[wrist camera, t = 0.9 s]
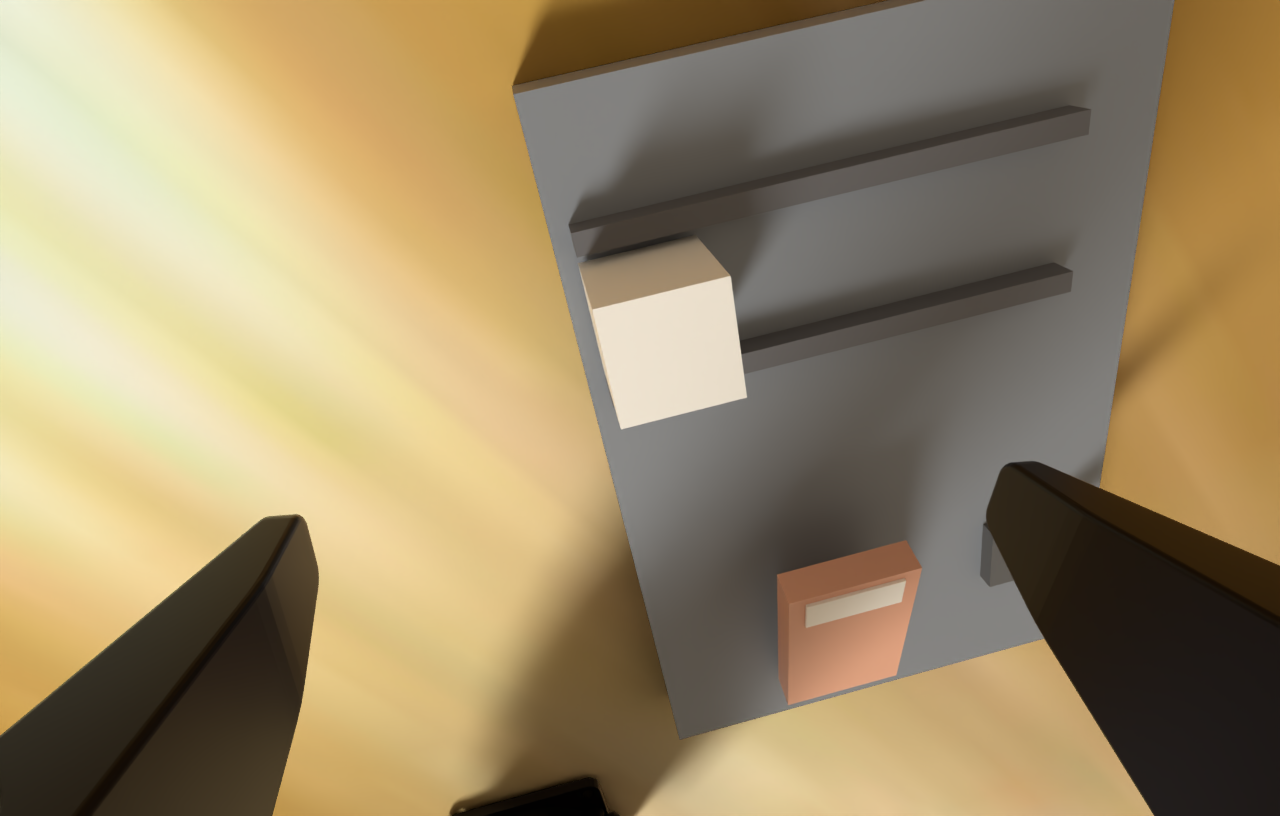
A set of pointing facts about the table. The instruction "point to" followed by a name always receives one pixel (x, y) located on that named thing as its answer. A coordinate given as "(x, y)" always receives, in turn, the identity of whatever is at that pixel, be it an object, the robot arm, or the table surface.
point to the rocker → (844, 620)
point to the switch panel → (861, 300)
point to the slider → (665, 330)
